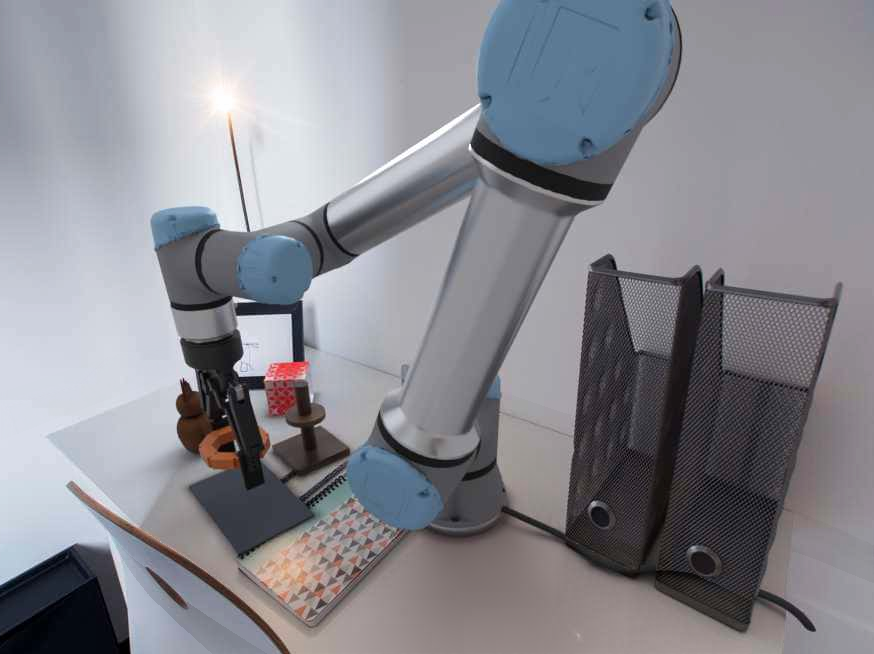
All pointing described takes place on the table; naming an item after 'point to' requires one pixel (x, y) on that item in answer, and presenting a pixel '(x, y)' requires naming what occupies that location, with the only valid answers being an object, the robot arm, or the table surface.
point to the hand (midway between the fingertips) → (240, 469)
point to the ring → (225, 458)
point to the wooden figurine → (191, 419)
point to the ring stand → (308, 436)
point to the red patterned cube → (285, 385)
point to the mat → (250, 507)
